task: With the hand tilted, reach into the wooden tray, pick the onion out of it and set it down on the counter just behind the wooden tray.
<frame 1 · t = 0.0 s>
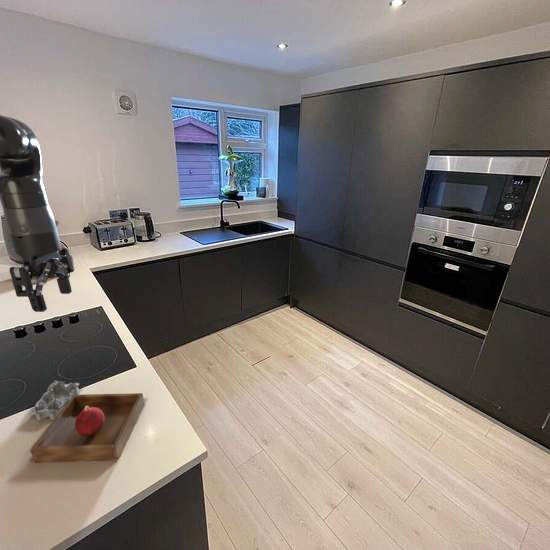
hand: (54, 301, 63), 32 cm above the worktop, tool pointing down, fingers open, 8 cm apart
egg carton: (59, 405, 77), on the worktop
ceramic pitcher: (54, 273, 163), on the worktop
onion: (93, 433, 69), resting on wooden tray
wooden tray: (96, 430, 70), on the worktop
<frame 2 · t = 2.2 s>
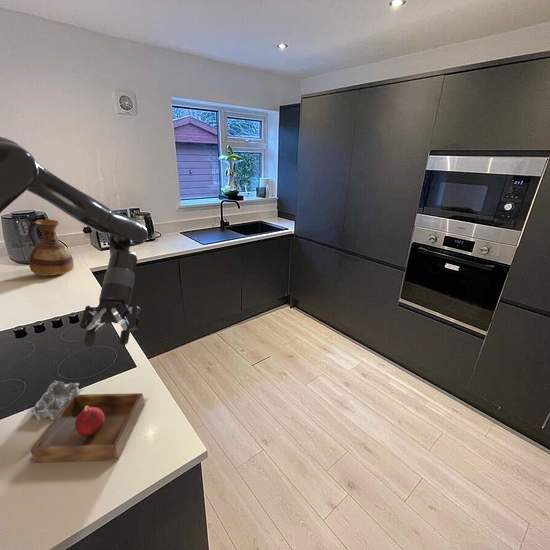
hand: (105, 345, 74), 17 cm above the worktop, tool tilted 45°, fingers open, 8 cm apart
nothing on the worktop moved.
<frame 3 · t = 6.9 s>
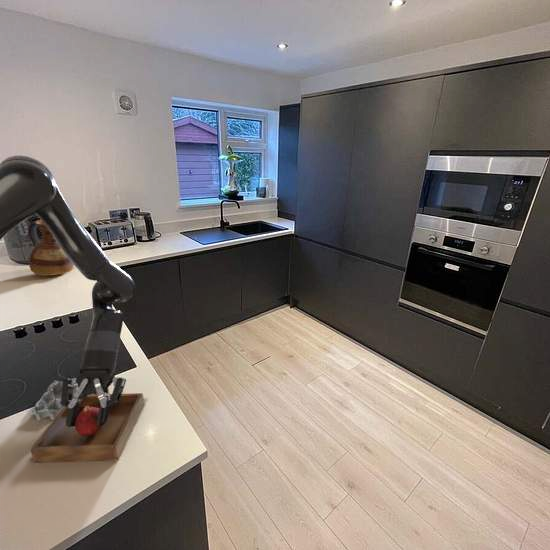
hand: (85, 425, 66), 5 cm above the worktop, tool tilted 45°, fingers closed on onion, 5 cm apart
onion: (93, 433, 69), resting on wooden tray, touching gripper
everything else where it was.
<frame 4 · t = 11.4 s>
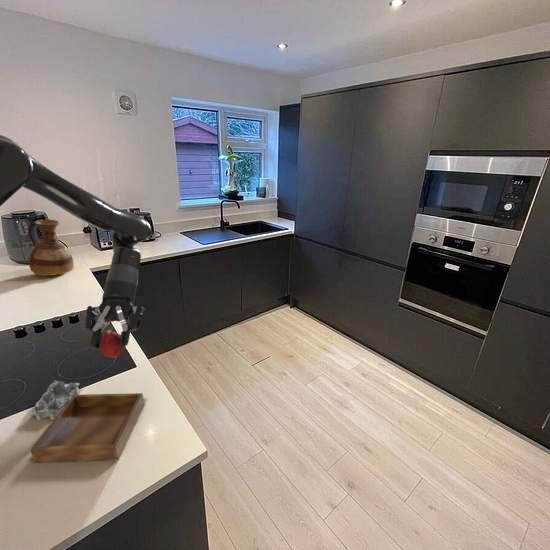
hand: (108, 347, 71), 18 cm above the worktop, tool tilted 45°, fingers closed on onion, 5 cm apart
onion: (115, 357, 74), point 14 cm above the worktop, touching gripper
everything else where it was.
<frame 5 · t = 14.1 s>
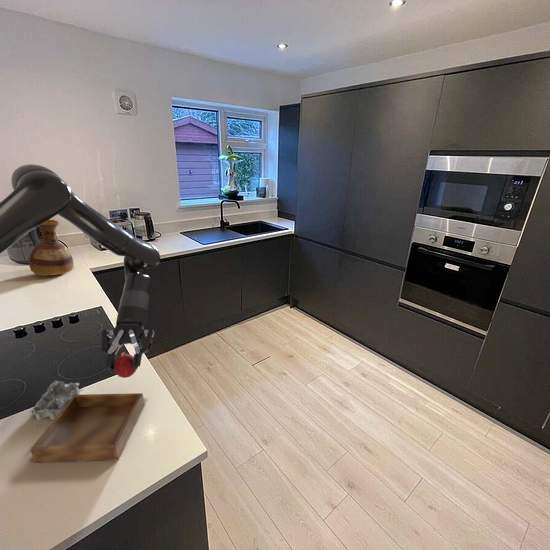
hand: (122, 368, 77), 9 cm above the worktop, tool tilted 45°, fingers closed on onion, 5 cm apart
onion: (128, 377, 81), point 5 cm above the worktop, touching gripper
everything else where it was.
when the fingers open (4 cm above the worktop, at t = 16.1 s): onion stays where it is, on the worktop.
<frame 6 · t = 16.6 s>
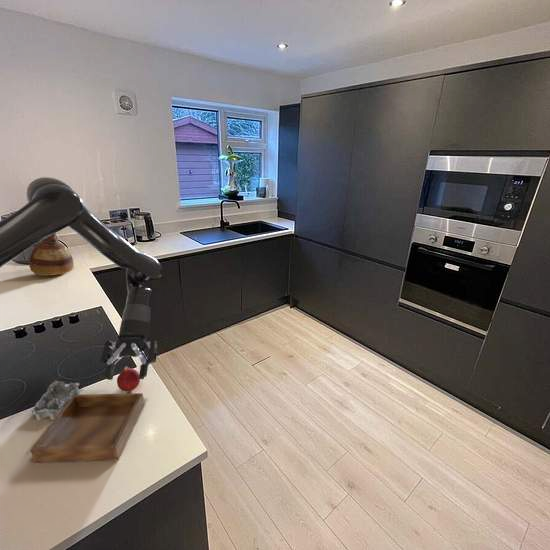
hand: (125, 379, 79), 5 cm above the worktop, tool tilted 45°, fingers open, 8 cm apart
onion: (130, 390, 82), on the worktop
everything else where it was.
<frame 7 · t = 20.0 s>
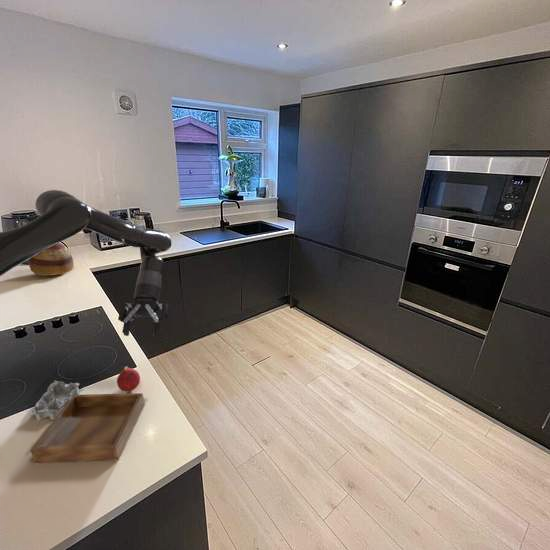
hand: (140, 335, 89), 11 cm above the worktop, tool tilted 45°, fingers open, 8 cm apart
nothing on the worktop moved.
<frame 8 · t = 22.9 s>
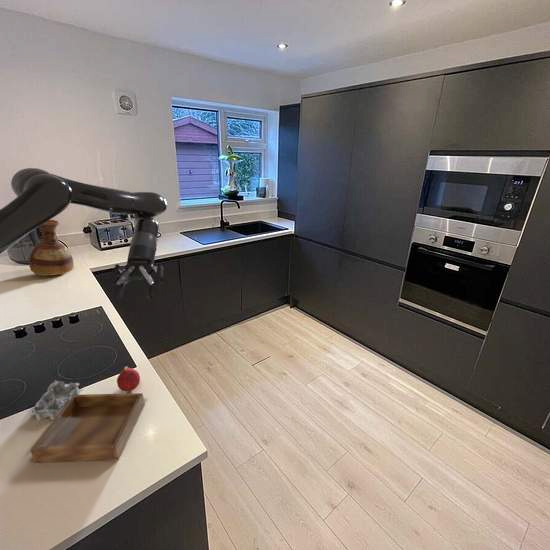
hand: (134, 298, 84), 24 cm above the worktop, tool tilted 45°, fingers open, 8 cm apart
nothing on the worktop moved.
at the end: onion inside the target area (0.1 cm from its centre), on the worktop; onion moved 14.4 cm from its start; the gripper is holding nothing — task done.
